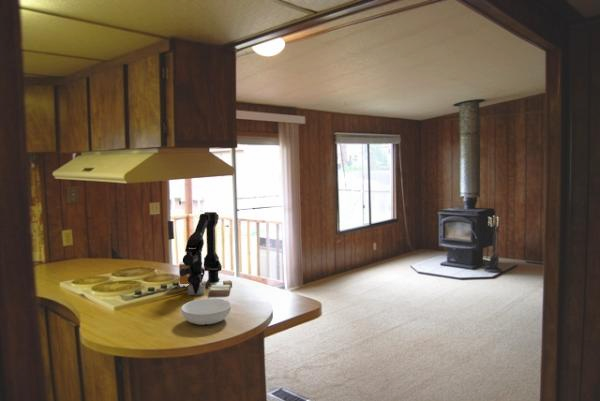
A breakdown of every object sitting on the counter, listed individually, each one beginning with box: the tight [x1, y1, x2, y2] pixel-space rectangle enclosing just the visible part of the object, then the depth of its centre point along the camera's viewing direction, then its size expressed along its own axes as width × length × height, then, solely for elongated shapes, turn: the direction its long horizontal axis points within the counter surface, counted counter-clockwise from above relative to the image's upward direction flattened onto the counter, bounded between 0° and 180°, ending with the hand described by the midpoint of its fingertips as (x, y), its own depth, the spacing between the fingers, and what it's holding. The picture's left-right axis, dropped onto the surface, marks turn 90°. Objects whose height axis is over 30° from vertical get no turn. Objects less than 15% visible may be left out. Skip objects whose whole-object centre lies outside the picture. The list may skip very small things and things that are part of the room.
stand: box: [208, 284, 232, 297], centre depth 241 cm, size 10×10×3 cm
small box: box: [178, 261, 193, 285], centre depth 255 cm, size 8×6×13 cm
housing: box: [187, 282, 206, 296], centre depth 241 cm, size 5×8×5 cm, turn 93°
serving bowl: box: [180, 297, 232, 326], centre depth 199 cm, size 21×21×7 cm
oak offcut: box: [222, 279, 233, 288], centre depth 253 cm, size 4×4×3 cm
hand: (197, 291), depth 241 cm, fingers open, 9 cm apart
